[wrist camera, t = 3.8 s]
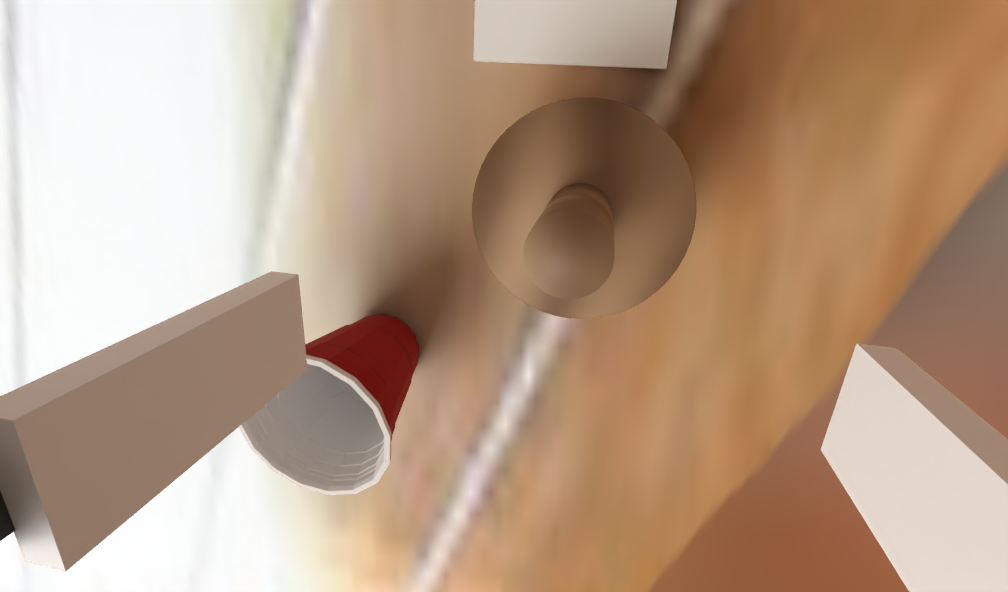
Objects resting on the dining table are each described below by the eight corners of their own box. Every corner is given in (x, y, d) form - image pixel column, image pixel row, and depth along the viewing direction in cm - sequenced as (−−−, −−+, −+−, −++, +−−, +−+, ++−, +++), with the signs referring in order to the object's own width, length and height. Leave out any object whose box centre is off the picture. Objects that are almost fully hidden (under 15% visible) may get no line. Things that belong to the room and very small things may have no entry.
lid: (474, 298, 31) (424, 368, 23) (480, 92, 27) (422, 84, 18) (671, 323, 29) (697, 409, 21) (713, 104, 25) (766, 101, 16)
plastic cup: (316, 375, 44) (218, 464, 33) (339, 266, 40) (236, 326, 29) (429, 422, 43) (368, 528, 32) (465, 316, 39) (408, 397, 28)
